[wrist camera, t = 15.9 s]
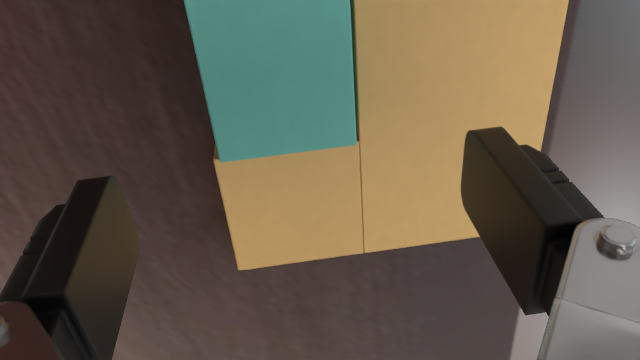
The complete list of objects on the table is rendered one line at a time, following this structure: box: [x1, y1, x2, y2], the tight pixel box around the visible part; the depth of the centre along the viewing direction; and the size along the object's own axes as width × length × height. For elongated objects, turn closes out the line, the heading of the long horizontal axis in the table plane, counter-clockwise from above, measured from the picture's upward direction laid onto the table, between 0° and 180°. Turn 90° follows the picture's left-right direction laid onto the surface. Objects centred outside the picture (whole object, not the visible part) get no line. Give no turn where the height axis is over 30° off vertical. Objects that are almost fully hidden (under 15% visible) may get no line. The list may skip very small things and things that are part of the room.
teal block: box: [184, 0, 357, 163], centre depth 19 cm, size 6×5×4 cm
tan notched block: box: [213, 0, 569, 270], centre depth 20 cm, size 20×14×2 cm
